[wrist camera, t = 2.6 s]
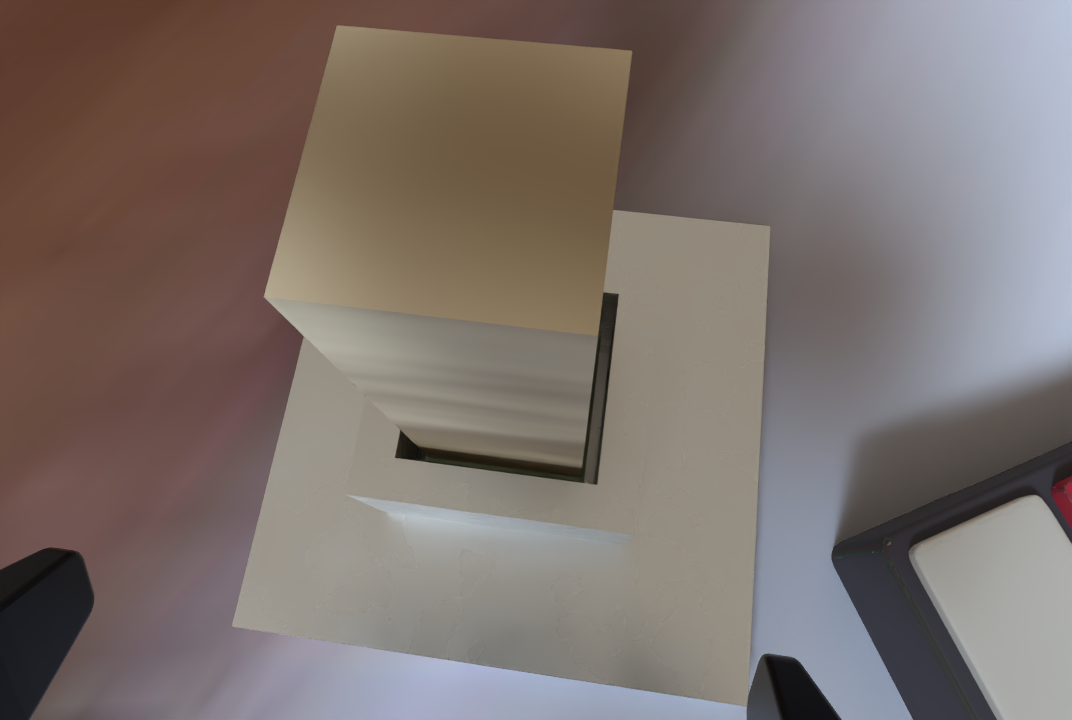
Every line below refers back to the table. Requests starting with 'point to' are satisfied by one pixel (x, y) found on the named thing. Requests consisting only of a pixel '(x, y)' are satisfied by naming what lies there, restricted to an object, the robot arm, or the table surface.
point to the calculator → (974, 596)
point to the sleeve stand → (549, 498)
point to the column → (460, 238)
